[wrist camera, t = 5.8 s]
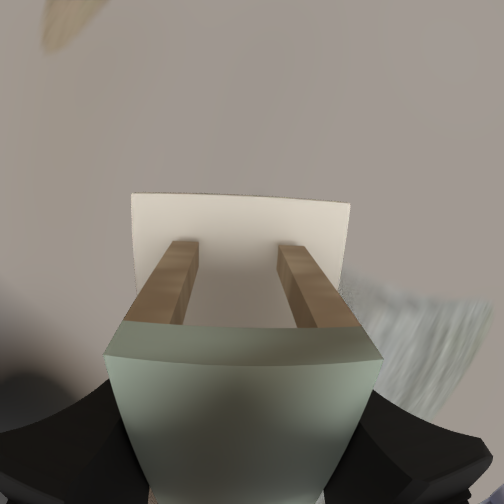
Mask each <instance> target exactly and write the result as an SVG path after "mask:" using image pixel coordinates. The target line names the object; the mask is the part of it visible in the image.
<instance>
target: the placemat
mask: <svg viewBox="0 0 504 504" xmlns="http://www.w3.org/2000/svg"><path fill="white" fill-rule="evenodd" d="M350 205H351V204H350V203H348V202H339V201H326V200H315V199H302V198H288V197H273V196H255V195H235V194H208V193H204V194H203V193H150V192H148V193H146V192H142V193H139V192H138V193H132V194H131V211H132V212H131V213H132V240H133V256H134V268H135V269H134V270H135V281H136V291H137V296H138V294H139V293H140V291H141V289H142V288H143V286H144V285H145V283H146V281H147V280H148V278H149V277H150V275H151V273H152V272H153V270H154V269H155V267H156V266H157V264H158V263H159V261H160V259H161V258H162V256H163V255H164V253H165V252H166V250H167V249H168V247H169V246H170V244H171V243H172V241H193V242H199V268H198V271H197V275H196V278H195V282H194V285H193V289H192V292H191V296H190V299H189V303H188V307H187V310H186V314H185V318H184V322H183V325H189V326H209V327H237V328H297V326H296V323H295V320H294V317H293V314H292V312H291V309H290V306H289V303H288V300H287V298H286V295H285V292H284V289H283V287H282V284H281V281H280V278H279V276H278V273H277V270H276V267H277V257H278V246H279V245H293V246H305V248H306V249H307V250H308V252H309V253H310V255H311V256H312V257H313V259H314V260H315V261H316V263H317V264H318V265H319V267H320V268H321V269H322V271H323V272H324V274H325V275H326V276H327V278H328V279H329V281H330V282H331V283H332V285H333V286H334V287H335V289H336V290H337V292H338V287H339V281H340V275H341V269H342V263H343V257H344V250H345V243H346V237H347V228H348V222H349V213H350Z"/></svg>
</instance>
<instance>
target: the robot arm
mask: <svg viewBox="0 0 504 504" xmlns="http://www.w3.org/2000/svg"><path fill="white" fill-rule="evenodd" d="M492 460H493V456H492V454H491V453H490V451H489V450H488V448H487V447H486V445H485V444H484V442H483V441H482V439H481V438H477V437H473V436H469V435H465V434H460V433H457V432H453V431H450V430H447V429H444V428H442V427H439V426H436V425H434V424H431V423H429V422H426V421H424V420H422V419H420V418H418V417H416V416H414V415H412V414H410V413H408V412H406V411H405V410H403V409H401V408H399V407H398V406H396V405H395V404H393V403H391V402H390V401H388V400H387V399H385V398H384V397H382V396H381V395H380V394H378V393H377V392H376V391H374V390H372V392H371V395H370V397H369V399H368V402H367V404H366V406H365V409H364V411H363V413H362V416H361V418H360V420H359V422H358V424H357V427H356V429H355V431H354V433H353V435H352V437H351V439H350V441H349V443H348V445H347V447H346V449H345V451H344V453H343V455H342V457H341V459H340V461H339V463H338V465H337V467H336V468H335V470H334V472H333V474H332V476H331V477H330V479H329V481H328V483H327V484H326V486H325V488H324V489H323V490H324V497H325V504H469V502H468V499H469V498H470V497H471V493H470V491H469V489H468V488H469V487H470V486H471V485H472V484H474V482H476V480H477V479H478V478H479V477H480V476H481V475H482V474H483V473H484V472H485V471H486V470H487V469H488V468H489V466H490V464H491V463H492ZM0 492H1V493H2V494H3V495H4V496H5V497H7V498H8V501H7V503H6V504H148V496H149V483H148V481H147V479H146V477H145V475H144V473H143V470H142V468H141V466H140V464H139V461H138V459H137V456H136V454H135V452H134V449H133V447H132V444H131V442H130V439H129V436H128V434H127V431H126V428H125V425H124V423H123V420H122V417H121V414H120V411H119V408H118V405H117V402H116V399H115V396H114V392H113V389H112V386H111V382H110V379H108V380H107V381H105V382H104V383H103V384H102V385H100V386H99V387H98V388H97V389H95V390H94V391H93V392H91V393H90V394H89V395H87V396H85V397H84V398H82V399H81V400H79V401H78V402H76V403H75V404H73V405H71V406H69V407H67V408H66V409H63V410H62V411H60V412H58V413H56V414H54V415H52V416H50V417H48V418H45V419H43V420H41V421H38V422H35V423H33V424H30V425H27V426H24V427H21V428H18V429H14V430H10V431H6V432H3V433H0ZM479 504H504V484H503V485H502V486H500V487H499V488H498V489H497V490H496V491H495V492H493V493H492V494H491V495H490V497H489V498H488V499H486V500H484V501H482V502H481V503H479Z"/></svg>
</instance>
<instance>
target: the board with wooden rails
mask: <svg viewBox="0 0 504 504" xmlns="http://www.w3.org/2000/svg"><path fill="white" fill-rule="evenodd" d="M198 268H199V242H193V241H172V243H171V244H170V246H169V247H168V249H167V250H166V252H165V253H164V255H163V256H162V258H161V259H160V261H159V263H158V264H157V266H156V267H155V269H154V270H153V272H152V273H151V275H150V277H149V278H148V280H147V281H146V283H145V285H144V286H143V288H142V289H141V291H140V293H139V294H138V296H137V298H136V299H135V301H134V302H133V304H132V306H131V307H130V309H129V311H128V312H127V314H126V316H125V317H124V319H123V321H122V323H121V324H120V326H119V328H118V330H117V331H116V333H115V334H114V336H113V338H112V340H111V341H110V343H109V345H108V347H107V348H106V350H105V352H104V354H103V357H104V360H105V364H106V368H107V372H108V375H109V379H110V382H111V386H112V389H113V392H114V396H115V399H116V402H117V405H118V408H119V411H120V414H121V417H122V420H123V423H124V425H125V428H126V431H127V434H128V436H129V439H130V442H131V444H132V447H133V449H134V452H135V454H136V456H137V459H138V461H139V464H140V466H141V468H142V470H143V473H144V475H145V477H146V479H147V481H148V483H149V486H150V488H151V490H152V492H153V494H154V496H155V498H156V500H157V502H158V504H315V503H316V501H317V499H318V498H319V496H320V494H321V493H322V491H323V489H324V488H325V486H326V484H327V483H328V481H329V479H330V477H331V476H332V474H333V472H334V470H335V468H336V467H337V465H338V463H339V461H340V459H341V457H342V455H343V453H344V451H345V449H346V447H347V445H348V443H349V441H350V439H351V437H352V435H353V433H354V431H355V429H356V427H357V424H358V422H359V420H360V418H361V416H362V413H363V411H364V409H365V406H366V404H367V402H368V399H369V397H370V395H371V392H372V390H373V387H374V385H375V382H376V379H377V377H378V374H379V371H380V369H381V366H382V363H383V360H384V358H383V357H382V355H381V354H380V352H379V351H378V349H377V348H376V346H375V345H374V343H373V342H372V341H371V339H370V338H369V336H368V335H367V333H366V332H365V330H364V329H363V327H362V326H361V324H360V323H359V322H358V320H357V319H356V317H355V316H354V314H353V313H352V311H351V310H350V309H349V307H348V306H347V304H346V303H345V302H344V300H343V299H342V297H341V296H340V294H339V293H338V292H337V290H336V289H335V287H334V286H333V285H332V283H331V282H330V281H329V279H328V278H327V276H326V275H325V274H324V272H323V271H322V269H321V268H320V267H319V265H318V264H317V263H316V261H315V260H314V259H313V257H312V256H311V255H310V253H309V252H308V250H307V249H306V248H305V246H293V245H279V246H278V257H277V267H276V270H277V273H278V276H279V278H280V281H281V284H282V287H283V289H284V292H285V295H286V298H287V300H288V303H289V306H290V309H291V312H292V314H293V317H294V320H295V323H296V326H297V328H237V327H209V326H189V325H183V322H184V318H185V314H186V310H187V307H188V303H189V299H190V296H191V292H192V289H193V285H194V282H195V278H196V275H197V271H198Z"/></svg>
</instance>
